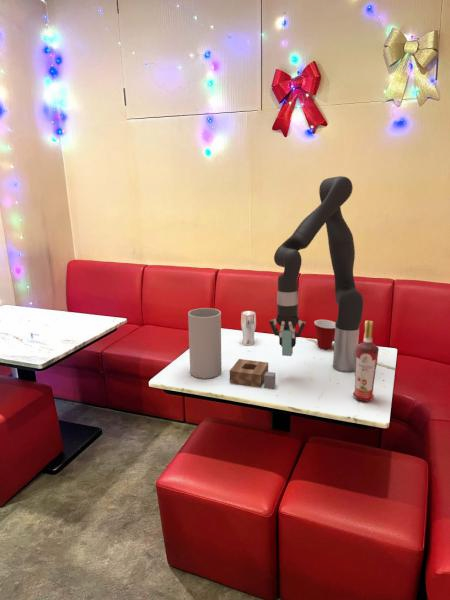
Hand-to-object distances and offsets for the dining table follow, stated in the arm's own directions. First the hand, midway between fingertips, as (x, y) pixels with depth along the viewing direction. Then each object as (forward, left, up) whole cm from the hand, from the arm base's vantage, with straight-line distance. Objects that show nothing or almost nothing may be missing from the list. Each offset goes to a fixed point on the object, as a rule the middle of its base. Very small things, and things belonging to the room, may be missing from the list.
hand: (287, 346), depth 161 cm
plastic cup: (-10, -37, -13) cm, 41 cm away
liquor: (-28, +8, -13) cm, 32 cm away
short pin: (+5, +9, -13) cm, 17 cm away
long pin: (0, 0, -3) cm, 3 cm away
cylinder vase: (+32, +5, -13) cm, 35 cm away
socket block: (+14, +5, -13) cm, 19 cm away
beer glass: (+25, -32, -13) cm, 43 cm away
